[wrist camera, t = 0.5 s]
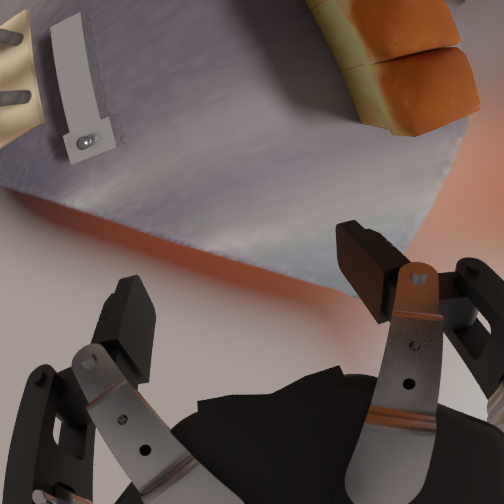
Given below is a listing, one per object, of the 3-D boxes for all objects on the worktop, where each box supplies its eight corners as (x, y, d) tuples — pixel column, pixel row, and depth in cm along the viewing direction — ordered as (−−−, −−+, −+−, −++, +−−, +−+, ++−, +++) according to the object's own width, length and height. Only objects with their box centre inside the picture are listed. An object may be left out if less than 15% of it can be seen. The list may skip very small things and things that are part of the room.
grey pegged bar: (57, 36, 22) (35, 28, 17) (99, 16, 22) (82, 3, 17) (83, 158, 31) (63, 168, 26) (125, 142, 31) (111, 150, 26)
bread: (424, 101, 33) (500, 115, 21) (360, 127, 35) (434, 147, 22) (356, -46, 21) (416, -83, 8) (279, -35, 22) (320, -91, 10)
